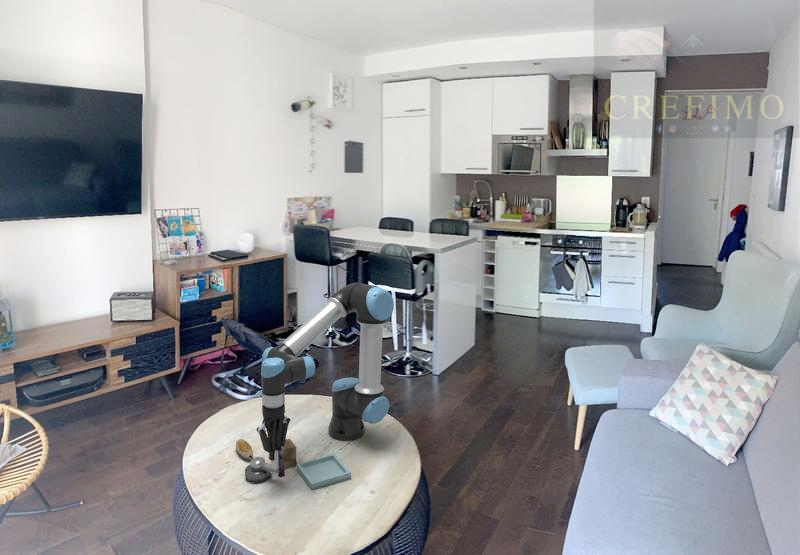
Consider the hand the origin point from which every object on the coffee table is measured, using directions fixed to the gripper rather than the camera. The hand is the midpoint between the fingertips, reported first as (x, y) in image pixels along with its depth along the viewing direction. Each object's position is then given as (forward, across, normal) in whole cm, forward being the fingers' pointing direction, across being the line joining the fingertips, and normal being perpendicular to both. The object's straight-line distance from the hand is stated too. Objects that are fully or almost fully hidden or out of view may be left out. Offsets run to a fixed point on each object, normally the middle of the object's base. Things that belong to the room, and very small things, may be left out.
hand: (274, 467), depth 195 cm
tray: (+7, -16, +7) cm, 19 cm away
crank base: (+7, 0, -10) cm, 12 cm away
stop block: (+7, -13, -9) cm, 17 cm away
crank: (+4, -1, -5) cm, 7 cm away
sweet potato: (+7, -6, -26) cm, 28 cm away
